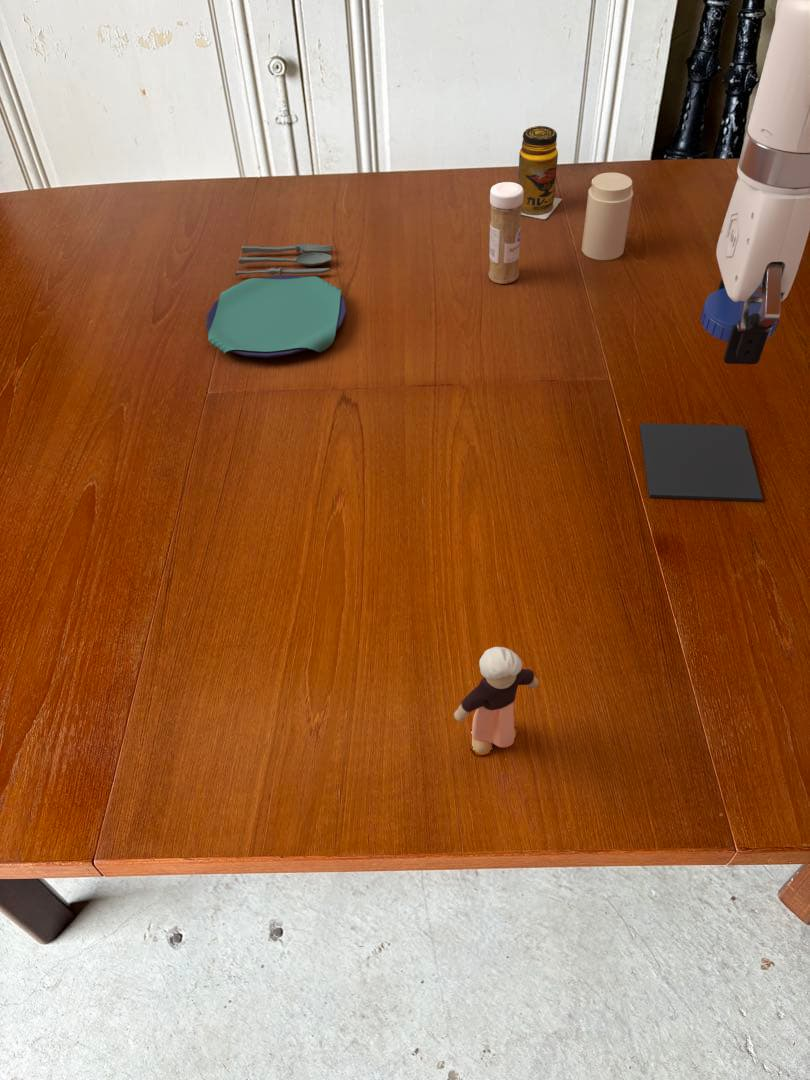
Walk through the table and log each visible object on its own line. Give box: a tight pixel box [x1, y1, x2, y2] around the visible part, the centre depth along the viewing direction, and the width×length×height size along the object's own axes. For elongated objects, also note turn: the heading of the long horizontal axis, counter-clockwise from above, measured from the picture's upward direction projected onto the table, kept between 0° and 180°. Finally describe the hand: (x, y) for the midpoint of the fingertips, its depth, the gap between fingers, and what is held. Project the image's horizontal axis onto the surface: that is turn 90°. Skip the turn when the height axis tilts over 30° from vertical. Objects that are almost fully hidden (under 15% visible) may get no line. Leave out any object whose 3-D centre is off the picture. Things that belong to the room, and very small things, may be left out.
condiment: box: [517, 125, 563, 220], centre depth 131 cm, size 7×8×12 cm
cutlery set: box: [205, 242, 347, 359], centre depth 118 cm, size 20×30×2 cm, turn 179°
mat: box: [639, 422, 764, 502], centre depth 93 cm, size 12×12×1 cm
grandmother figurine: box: [453, 646, 539, 753], centre depth 67 cm, size 8×4×13 cm, turn 126°
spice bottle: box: [488, 181, 524, 285], centre depth 116 cm, size 5×5×13 cm
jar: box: [581, 172, 634, 261], centre depth 121 cm, size 6×6×11 cm
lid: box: [700, 288, 782, 343], centre depth 79 cm, size 7×7×2 cm
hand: (734, 337), depth 81 cm, fingers closed on lid, 6 cm apart
